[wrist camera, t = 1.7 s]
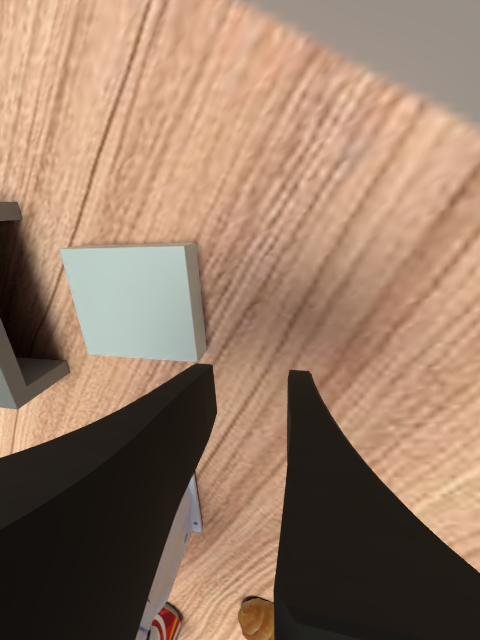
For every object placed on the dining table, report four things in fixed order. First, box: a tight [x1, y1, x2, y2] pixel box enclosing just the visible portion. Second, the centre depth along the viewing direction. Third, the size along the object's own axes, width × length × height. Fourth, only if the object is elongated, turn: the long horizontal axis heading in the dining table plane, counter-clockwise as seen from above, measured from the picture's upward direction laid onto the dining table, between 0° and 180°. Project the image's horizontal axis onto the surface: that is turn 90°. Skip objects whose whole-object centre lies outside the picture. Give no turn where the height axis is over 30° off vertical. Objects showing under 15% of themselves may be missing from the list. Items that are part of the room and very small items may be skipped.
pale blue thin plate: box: [60, 242, 207, 362], centre depth 21 cm, size 8×9×2 cm
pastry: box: [238, 598, 274, 640], centre depth 32 cm, size 9×7×4 cm
